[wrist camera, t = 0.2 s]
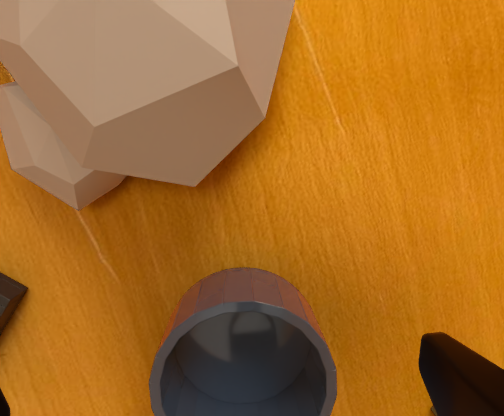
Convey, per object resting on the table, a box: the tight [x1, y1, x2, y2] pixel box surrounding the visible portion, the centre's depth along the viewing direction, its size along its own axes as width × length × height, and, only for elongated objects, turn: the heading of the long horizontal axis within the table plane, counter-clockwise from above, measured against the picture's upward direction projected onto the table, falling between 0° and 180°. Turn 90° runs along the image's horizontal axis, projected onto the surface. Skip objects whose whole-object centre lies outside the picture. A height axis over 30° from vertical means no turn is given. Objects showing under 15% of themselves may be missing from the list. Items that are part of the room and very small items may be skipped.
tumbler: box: [149, 268, 337, 416], centre depth 23 cm, size 10×10×6 cm
